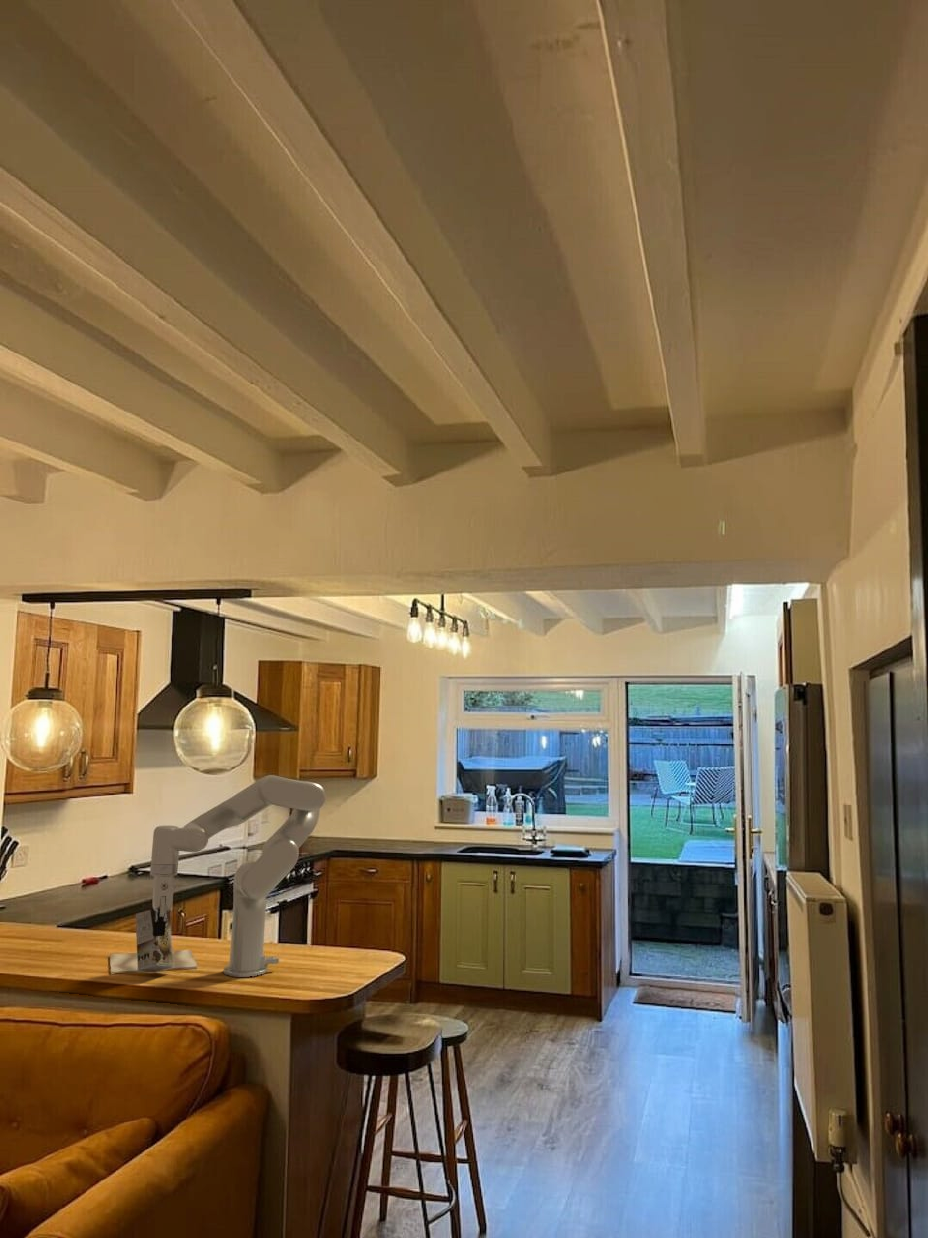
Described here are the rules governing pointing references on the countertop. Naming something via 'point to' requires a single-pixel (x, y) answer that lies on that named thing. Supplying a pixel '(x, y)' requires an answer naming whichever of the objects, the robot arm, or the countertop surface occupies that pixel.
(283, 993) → the countertop surface
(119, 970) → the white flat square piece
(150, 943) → the coffee box
